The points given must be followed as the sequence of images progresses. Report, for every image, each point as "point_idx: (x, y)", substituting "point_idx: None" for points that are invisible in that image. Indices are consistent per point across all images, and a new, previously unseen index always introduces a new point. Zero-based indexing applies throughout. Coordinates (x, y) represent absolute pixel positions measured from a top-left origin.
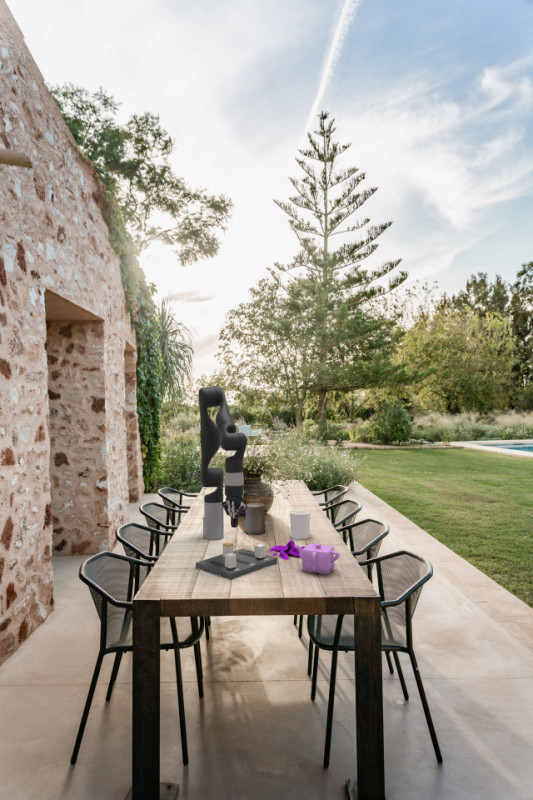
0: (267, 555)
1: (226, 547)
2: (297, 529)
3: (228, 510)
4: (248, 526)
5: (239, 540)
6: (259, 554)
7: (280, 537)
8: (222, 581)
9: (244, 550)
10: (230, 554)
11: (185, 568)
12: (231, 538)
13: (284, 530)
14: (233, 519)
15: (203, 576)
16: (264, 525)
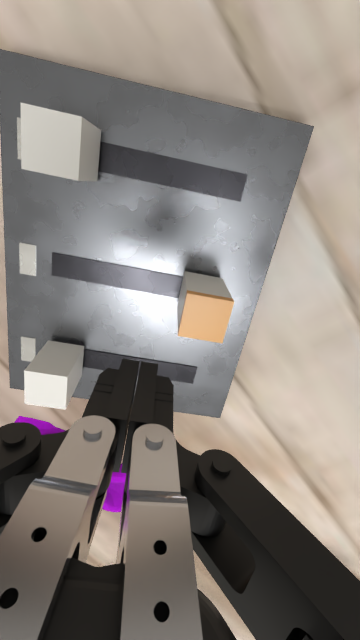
0: None
1: (199, 289)
2: None
3: (187, 511)
4: None
5: (308, 502)
6: (47, 349)
7: (195, 567)
8: (30, 2)
9: (194, 401)
10: (51, 143)
11: (351, 86)
12: (348, 506)
13: (224, 610)
14: (108, 408)
15: (180, 17)
16: None
